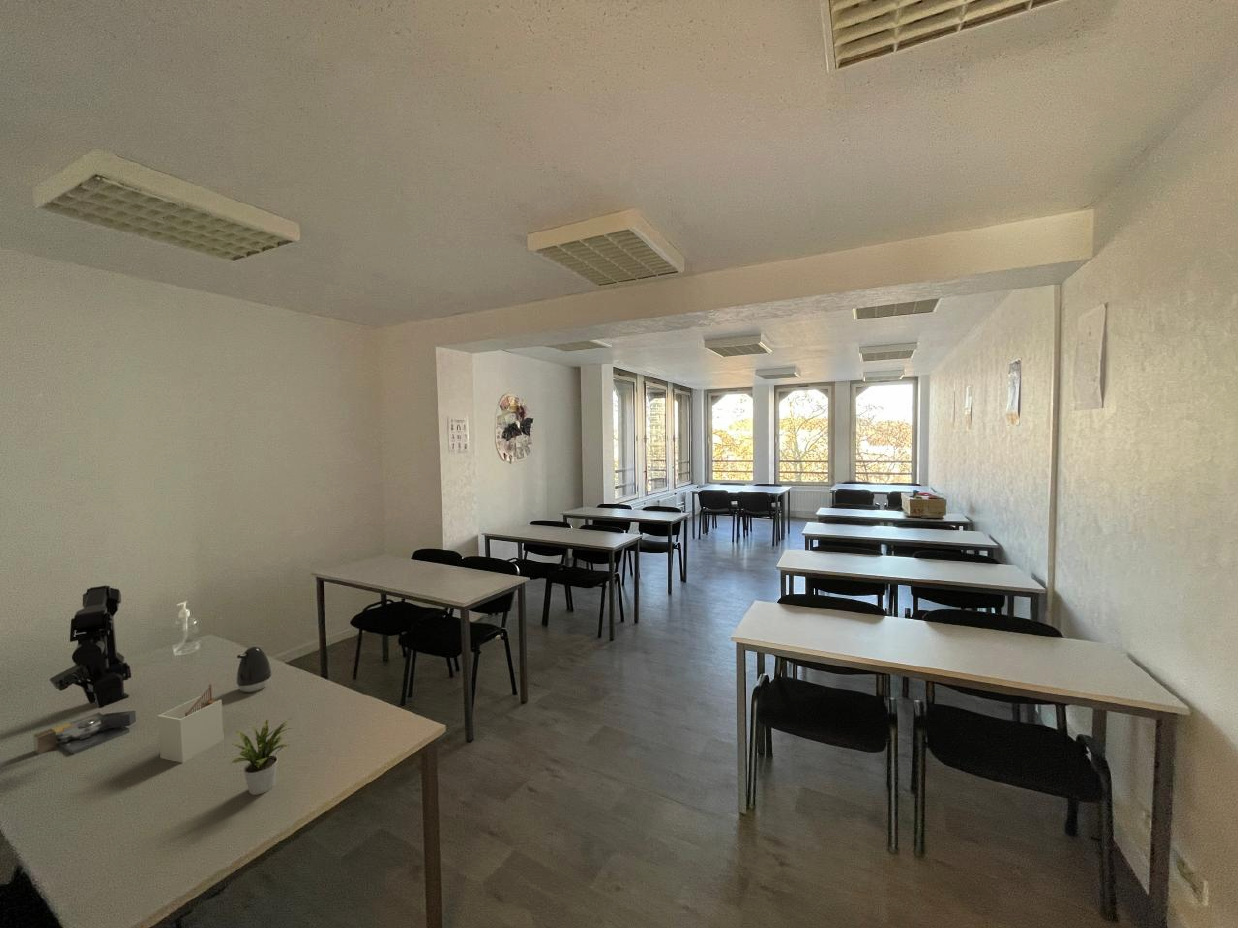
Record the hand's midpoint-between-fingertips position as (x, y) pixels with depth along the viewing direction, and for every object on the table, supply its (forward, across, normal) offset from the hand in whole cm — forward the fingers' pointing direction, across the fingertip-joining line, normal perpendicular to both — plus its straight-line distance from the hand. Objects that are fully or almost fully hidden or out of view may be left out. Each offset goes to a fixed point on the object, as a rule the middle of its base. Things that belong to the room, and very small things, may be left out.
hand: (96, 705), depth 145 cm
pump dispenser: (+11, +8, +38) cm, 40 cm away
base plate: (+11, -9, 0) cm, 14 cm away
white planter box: (+12, +30, +10) cm, 34 cm away
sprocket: (+10, -7, +2) cm, 12 cm away
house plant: (+11, +68, +10) cm, 70 cm away
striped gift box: (+11, -9, -8) cm, 17 cm away
